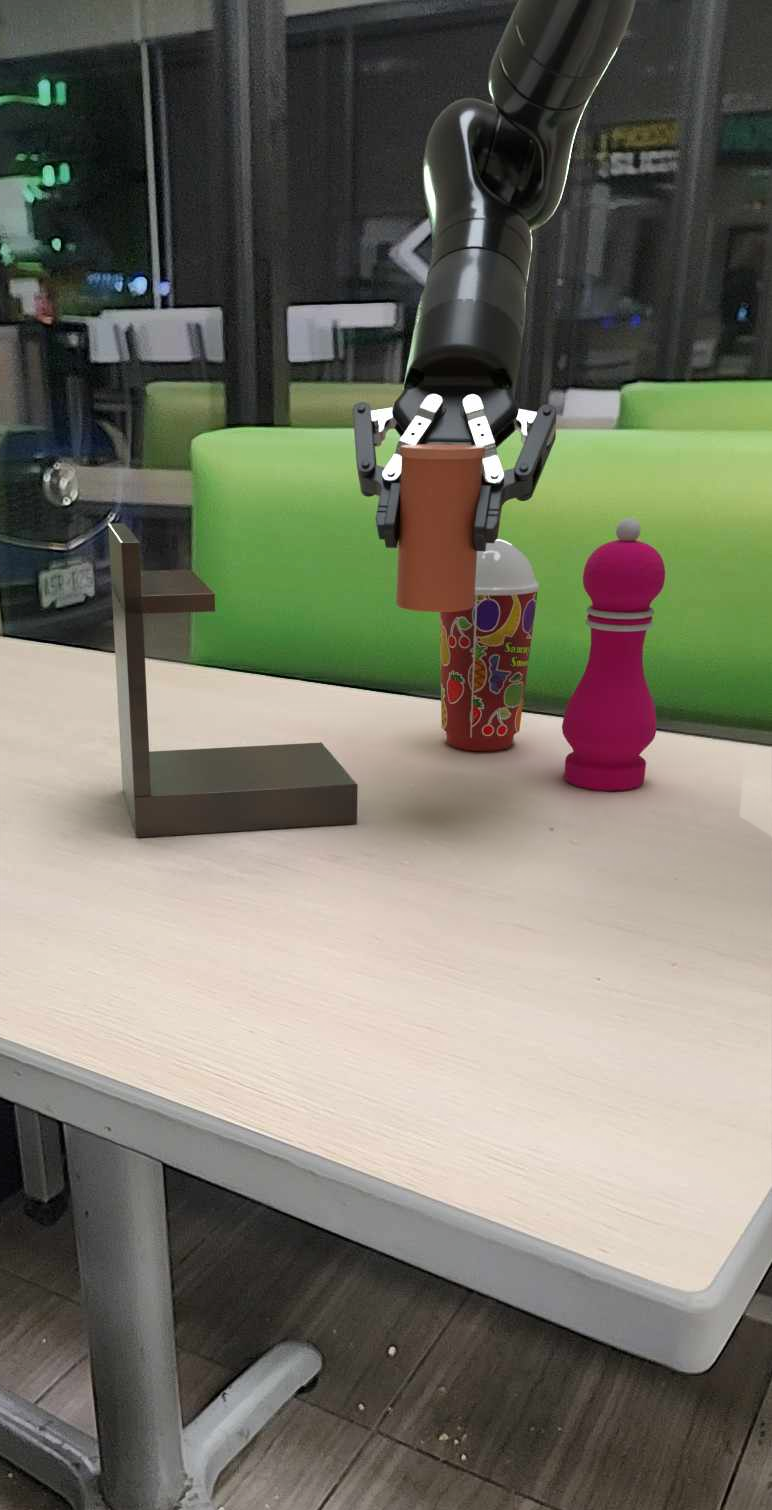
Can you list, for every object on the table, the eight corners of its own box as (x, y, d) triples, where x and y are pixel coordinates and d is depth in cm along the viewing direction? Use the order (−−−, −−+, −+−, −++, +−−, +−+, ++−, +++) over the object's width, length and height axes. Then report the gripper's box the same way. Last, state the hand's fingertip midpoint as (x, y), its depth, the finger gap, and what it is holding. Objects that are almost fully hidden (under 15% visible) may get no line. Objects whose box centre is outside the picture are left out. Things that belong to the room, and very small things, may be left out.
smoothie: (524, 758, 112) (543, 509, 104) (426, 753, 114) (437, 507, 106) (530, 734, 120) (547, 500, 111) (437, 729, 121) (448, 499, 113)
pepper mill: (646, 797, 102) (676, 524, 94) (551, 788, 104) (573, 521, 96) (653, 772, 108) (683, 514, 100) (564, 764, 110) (585, 512, 102)
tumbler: (460, 597, 92) (469, 443, 88) (486, 611, 87) (496, 448, 83) (385, 600, 91) (390, 444, 87) (407, 613, 86) (413, 449, 82)
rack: (321, 778, 107) (323, 518, 99) (357, 824, 96) (362, 535, 88) (122, 790, 104) (108, 523, 96) (136, 838, 93) (121, 542, 85)
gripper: (358, 296, 89) (317, 499, 84) (575, 294, 86) (548, 505, 81) (370, 380, 96) (333, 574, 91) (571, 382, 93) (546, 582, 88)
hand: (434, 540), depth 86 cm, fingers closed on tumbler, 5 cm apart
